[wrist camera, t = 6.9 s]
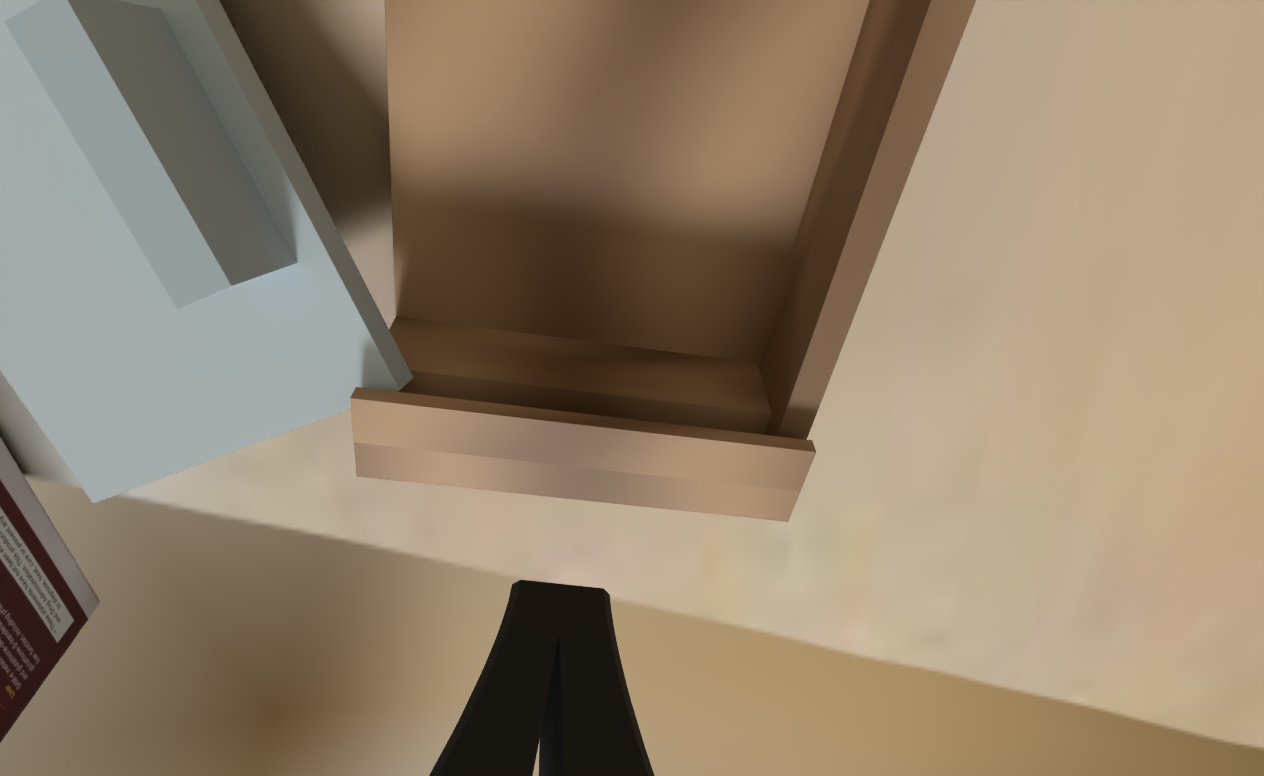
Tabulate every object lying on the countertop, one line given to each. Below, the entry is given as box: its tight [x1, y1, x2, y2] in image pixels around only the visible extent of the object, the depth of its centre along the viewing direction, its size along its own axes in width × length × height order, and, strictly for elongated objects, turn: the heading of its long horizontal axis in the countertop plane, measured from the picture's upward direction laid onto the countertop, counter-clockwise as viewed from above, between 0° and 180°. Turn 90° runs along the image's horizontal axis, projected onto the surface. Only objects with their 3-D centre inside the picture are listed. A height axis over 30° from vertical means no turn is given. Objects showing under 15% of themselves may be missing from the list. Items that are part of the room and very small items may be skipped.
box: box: [350, 0, 976, 522], centre depth 14 cm, size 10×14×4 cm
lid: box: [0, 0, 414, 503], centre depth 14 cm, size 9×11×3 cm
